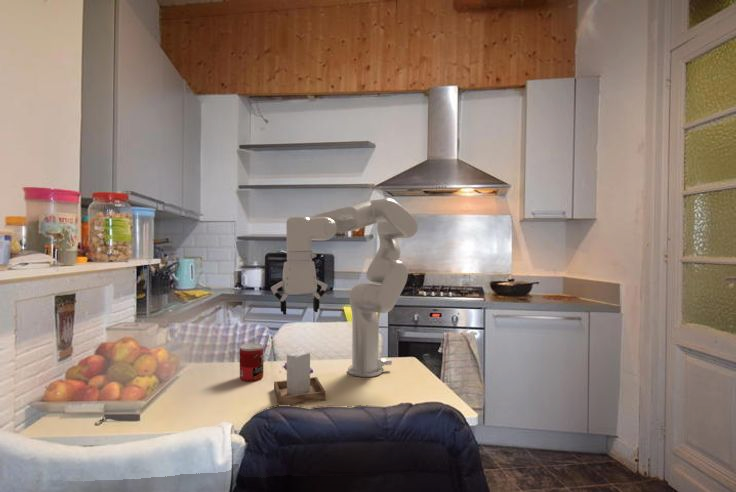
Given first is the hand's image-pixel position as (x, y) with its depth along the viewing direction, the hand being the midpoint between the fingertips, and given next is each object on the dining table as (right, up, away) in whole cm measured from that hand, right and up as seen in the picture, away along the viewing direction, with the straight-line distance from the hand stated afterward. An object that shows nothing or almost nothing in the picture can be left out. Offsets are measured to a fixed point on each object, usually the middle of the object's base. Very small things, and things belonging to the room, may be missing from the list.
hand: (300, 312), depth 123 cm
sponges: (-5, -25, +23) cm, 34 cm away
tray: (0, -25, -1) cm, 25 cm away
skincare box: (0, -24, -1) cm, 24 cm away
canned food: (-19, -25, +13) cm, 34 cm away
